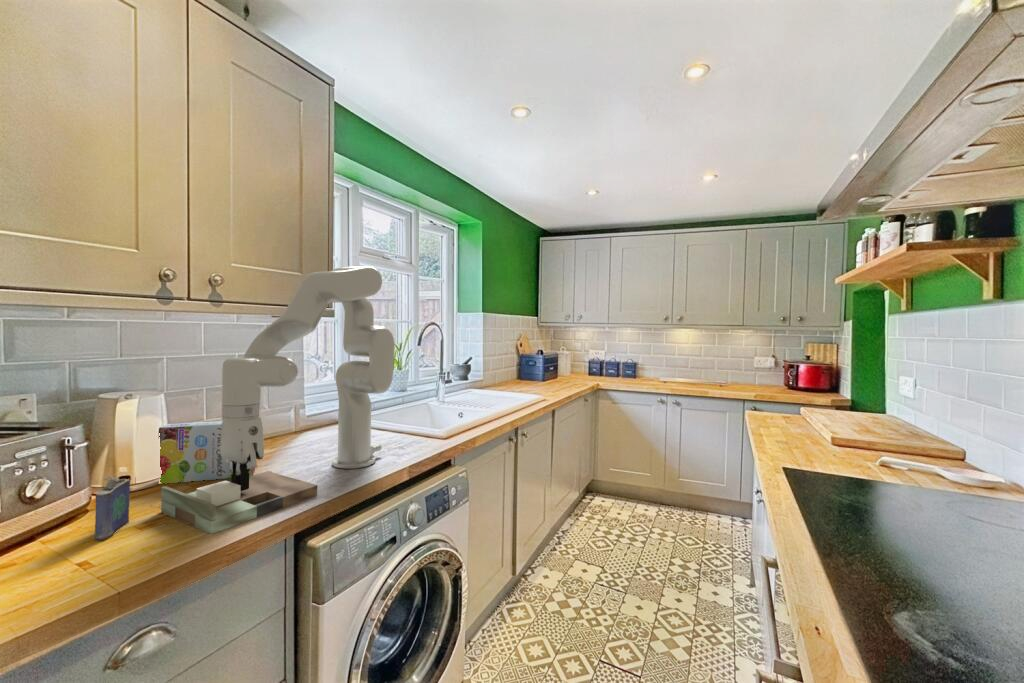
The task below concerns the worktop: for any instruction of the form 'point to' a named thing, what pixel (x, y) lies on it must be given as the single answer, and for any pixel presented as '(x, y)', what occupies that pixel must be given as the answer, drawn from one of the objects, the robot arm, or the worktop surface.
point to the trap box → (237, 502)
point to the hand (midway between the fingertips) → (240, 490)
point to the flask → (112, 508)
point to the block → (219, 493)
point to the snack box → (192, 453)
